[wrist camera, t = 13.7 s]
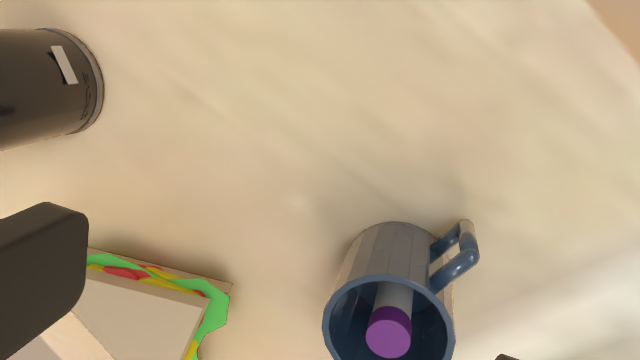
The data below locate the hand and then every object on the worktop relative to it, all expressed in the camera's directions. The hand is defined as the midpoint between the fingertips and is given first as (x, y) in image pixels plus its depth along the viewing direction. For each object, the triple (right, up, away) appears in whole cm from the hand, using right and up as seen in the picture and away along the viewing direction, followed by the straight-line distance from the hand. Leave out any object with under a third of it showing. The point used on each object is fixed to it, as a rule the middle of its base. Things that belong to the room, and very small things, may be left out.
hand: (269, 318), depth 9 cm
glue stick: (+8, -5, +32) cm, 33 cm away
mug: (+9, -4, +31) cm, 33 cm away
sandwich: (-16, -8, +39) cm, 43 cm away
